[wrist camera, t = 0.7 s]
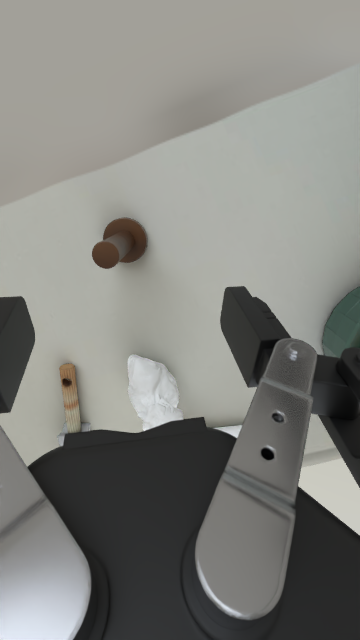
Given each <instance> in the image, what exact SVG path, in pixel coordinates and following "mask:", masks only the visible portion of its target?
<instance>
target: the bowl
mask: <svg viewBox="0 0 360 640" xmlns="http://www.w3.org/2000/svg"><path fill="white" fill-rule="evenodd" d="M322 344H323V350H324V355H325V356H330V357H337V358H340V356H341V354H342V352H343V350H344V349H346V348H351V347H356V348H360V287H358V288H356V289H355V290H353V291H352V292H350V293H349V294H348V295H347V296H346V297H345V298H344V299H343V300H342V301H341V302H340V303H339V304H338V305H337V306H336V307H335V309H334V310H333V312H332V314H331V316H330V318H329V320H328V321H327V323H326V325H325V330H324V336H323V341H322Z"/></svg>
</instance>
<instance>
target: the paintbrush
mask: <svg viewBox="0 0 360 640" xmlns="http://www.w3.org/2000/svg"><path fill="white" fill-rule="evenodd" d="M60 376H61V383H62V391H63V399H64V407H65V415H66V423H64V427H63V430H62V433H60V434H59V435H58V436H57V438H58V441H59V444H60V447H61V446H63V443H64V437H65V434H68V433H76V432H85V431H90V423H80V413H79V404H78V395H77V386H76V377H75V366H74V365H73V364H63V365H61V366H60ZM67 378H68V379H71V380H72V381H70V380H67Z"/></svg>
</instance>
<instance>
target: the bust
mask: <svg viewBox="0 0 360 640" xmlns="http://www.w3.org/2000/svg"><path fill="white" fill-rule="evenodd" d="M127 366H128V379H129V382H130V383H129V386H128V394H129V398H130V401H131V403H132V405H133V407H134V408H135V410H136V411H137V412H138V417H139V418H141V419H142V421H143V431H146V430H148V429H151V428H154V427H156V426H159V425H162V424H165V423H167V422H170V421H175V420H183V419H184V418H183V411H182V410H181V409H179V408H177V405H178V402H179V390H178V387H177V385H176V384H177V383H176V379H175V378H174V377H173V376H172V374H171V373H170V372H169V371H168V369H167V368H166V366H165V365H164V364H162V363H160V362H155V361H152V360H149V359H147V358H142V357H140V356H137V355H131V356H130V357H129V358H128V362H127Z"/></svg>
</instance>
